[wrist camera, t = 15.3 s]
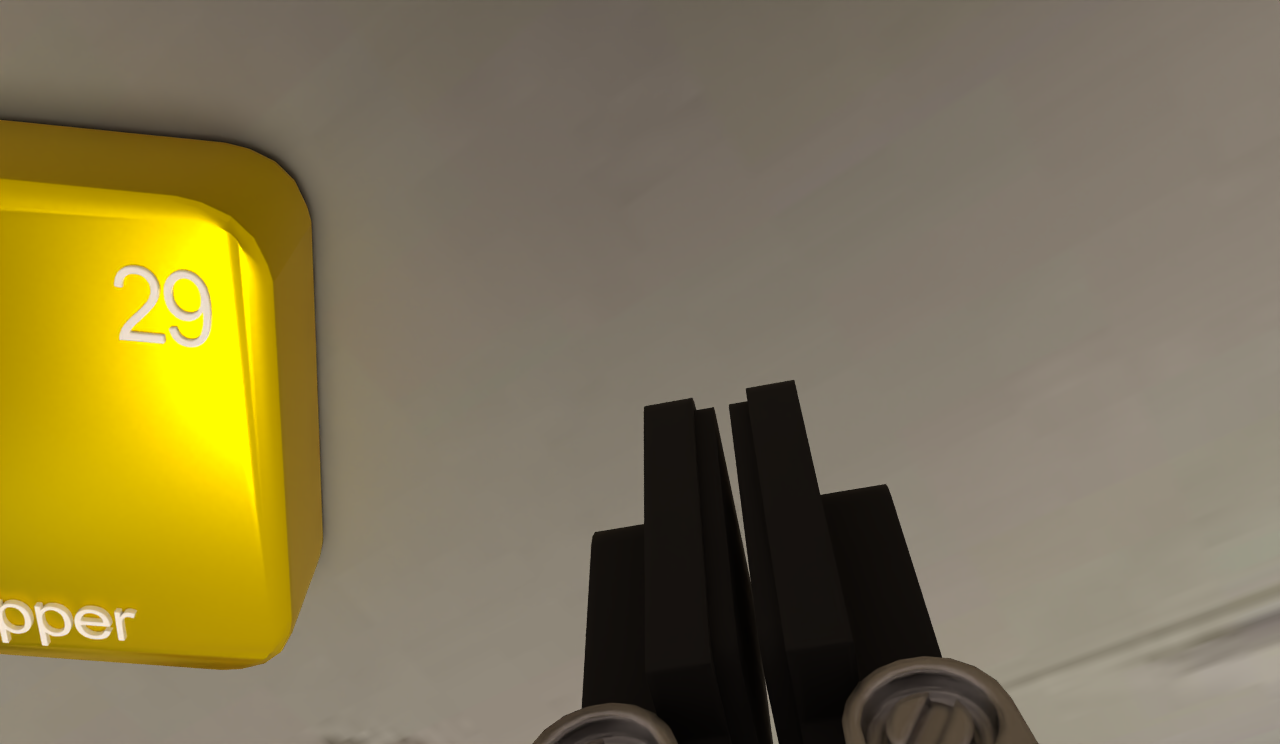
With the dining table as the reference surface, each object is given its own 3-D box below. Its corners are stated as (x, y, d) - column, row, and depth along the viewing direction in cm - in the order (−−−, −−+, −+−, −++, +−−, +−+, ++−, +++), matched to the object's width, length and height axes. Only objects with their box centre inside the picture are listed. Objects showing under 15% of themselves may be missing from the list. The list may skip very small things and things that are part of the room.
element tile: (-147, 548, 36) (-247, 655, 32) (-285, 85, 29) (-439, 146, 25) (327, 584, 37) (290, 693, 33) (312, 146, 30) (261, 214, 25)
